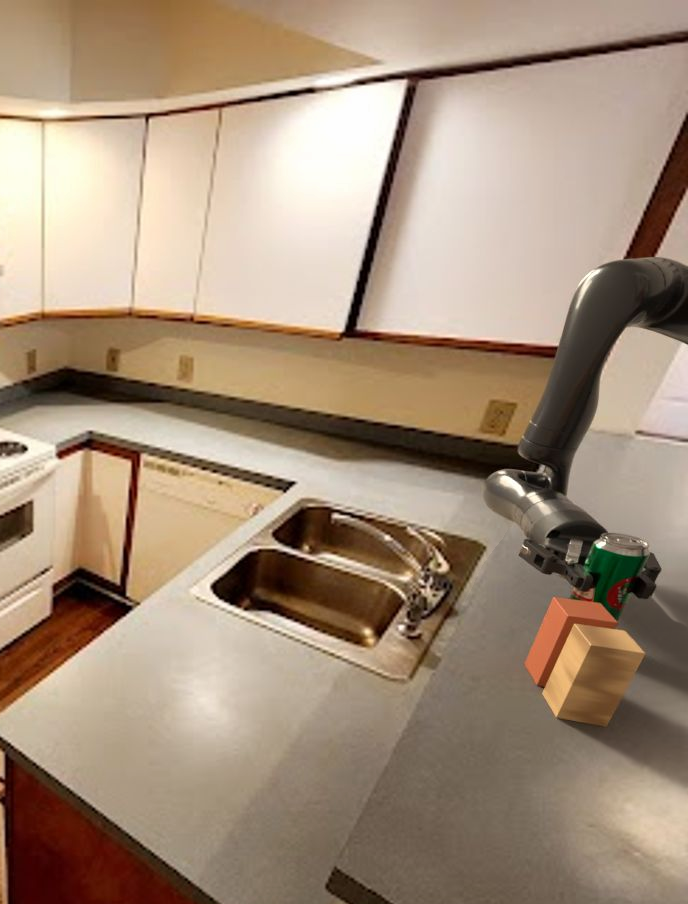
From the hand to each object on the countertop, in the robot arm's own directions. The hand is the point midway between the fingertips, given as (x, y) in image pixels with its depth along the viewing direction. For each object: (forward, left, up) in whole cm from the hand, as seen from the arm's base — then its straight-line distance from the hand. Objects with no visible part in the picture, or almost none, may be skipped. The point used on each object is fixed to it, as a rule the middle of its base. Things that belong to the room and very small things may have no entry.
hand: (616, 588), depth 76 cm
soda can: (0, -3, -7) cm, 7 cm away
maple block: (+6, +14, -9) cm, 18 cm away
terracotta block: (+6, +8, -9) cm, 14 cm away
